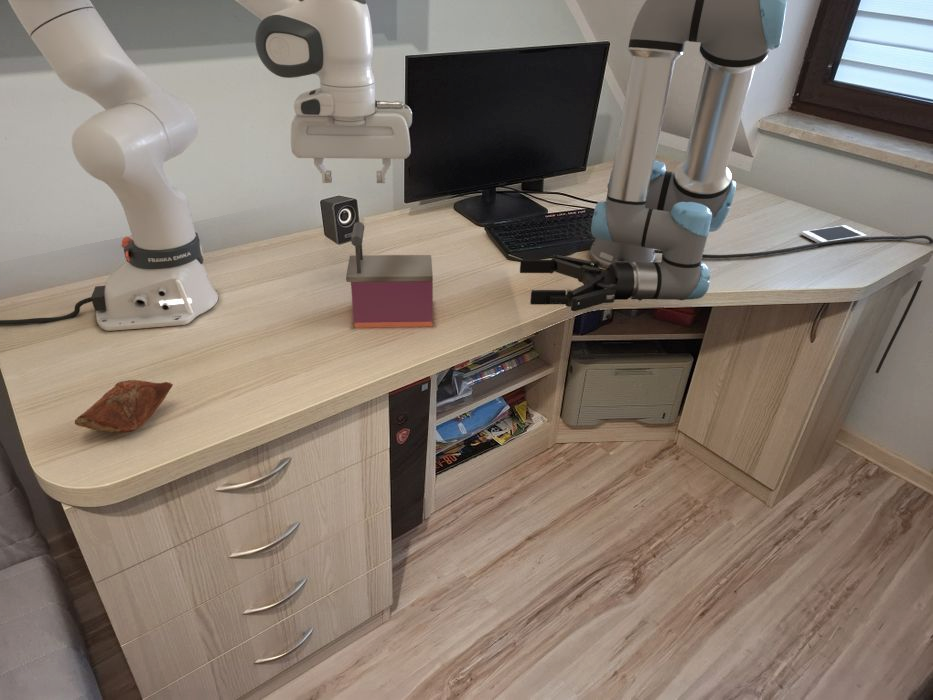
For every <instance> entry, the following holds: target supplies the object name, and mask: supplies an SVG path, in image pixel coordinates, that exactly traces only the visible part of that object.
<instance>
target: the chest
mask: <svg viewBox="0 0 933 700" xmlns="http://www.w3.org/2000/svg"><path fill="white" fill-rule="evenodd" d="M433 281H434V280H433ZM433 281H402V282H350V286H351V287H350V288H351V302H352V316H353V328H355V329H359V328H361V329H363V328H364V329H365V328H366V329H367V328H422V327H425V328H427V327H433V326H434V321H433V320H434V311H433V310H434V309H433V308H434V307H433V306H434V305H433V304H434V299H433V298H434V294H433V291H434V288H433V287H434V285H433V283H434V282H433Z"/></svg>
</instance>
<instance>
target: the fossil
mask: <svg viewBox="0 0 933 700" xmlns="http://www.w3.org/2000/svg"><path fill="white" fill-rule="evenodd" d="M173 386H174V384H173V383H172V382H168V381H164V382H152V381H146V380H139V379H129V380H122V381H119V382H117V383H116V384H115V385H114V386H113V387H112V388H111V389H109V390H108V391H106V392H105V393H104V394H103V395H102V396H101V397H100V398H99V399H98V400H97V401H96V402H94V403H93V404H92V406H90V407H88V409H86V410H85V411H83V413H81V414H80V415H79V416H77V417H76V419H75V420H74V425H76V426H77V427H81V428H86V429H88V430H89V429H90V430H92V431H93V430H95V431H99V432H110V433H116V434H117V433H120V434H125V433H131V432H133V431H136V430H138V429H140V428H141V427H142V426H144V425H145V424H146V423H147V421H148V420H149V419H150V418H151V417H152V416H153V415H154V414H155V413H156V411H157V409H159V407H160V406H161V404H162V403H163V402H164V400H165V398H166V397H167V395H168V393H169V392H170V391H171V389H172V388H173Z"/></svg>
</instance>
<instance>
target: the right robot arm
mask: <svg viewBox="0 0 933 700" xmlns="http://www.w3.org/2000/svg"><path fill="white" fill-rule="evenodd" d="M787 5H788V0H645V1H644V3H643V4H642V6H641V8H640V10H639V11H638V13H637V16H636V18H635V21H634V22H633V26H632V29H631V31H630V32H631V33H630V35H629V41H628V47H627V51H628V52H629V54H630V55H631V63H630V69H629V75H628V78H627V79H628V80H627V85H626V91H625V96H624V103H623V108H622V114H621V119H620V125H619V130H618V136H617V141H616V147H615V152H614V157H613V164H612V169H611V171H610V176H609V181H608V183H607V193H606V198H605V201H598V202H597V203H596V205H595V207H594V210H593V215H592V219H591V224H590V233H591V235H592V237H593V238H594V241H593V243H592V244H591V246H590V250H589V258H590V260H586V259H582V258H576V257H571V256H566V255H560V254H553V255H552V257H551V258H550V259H520V264H519V274H553V273H556V274H557V273H558V274H561V275H564V276H567V277H570V278H573V279H577V281H578V283H582V285H581V286H578V287H576V288H574V289H573V290H571V289H567V291H566V289H531V291H530V301H529V304H530V306H531V305H532V306H533V305H539V306H540V305H541V306H542V305H543V306H545V305H565V306H566V307H567V308H569V307H570V311H572V312H578V311H581V310H584V309H589V308H593V307H595V306H599V305H602V304H612V303H615V301H622V300H623V301H628V300H629V299H631V300H638V301H639V302H641V301H643V300H664V301H665V300H666V301H667V300H671V301H672V300H675V301H676V300H677V301H684V300H685V301H686V300H688V301H689V300H697V299H701V298H703V297H704V296H705V295H706V294H707V293H708V290H709V288H710V284H711V283H710V278H711V273H710V269H709V268H708V267H709V266H708V265H707V264H706V263H704V262H702V259H732V258H748V257H758V256H768V255H775V254H780V253H787V252H793V251H799V250H803V249H804V250H805V249H808V248H809V249H810V248H815V247H818V246H819V247H820V246H826V245H832V244H839V243H840V244H841V243H847V242H848V243H849V242H856V241H857V242H859V241H877V240H914V239H925V240H927V241H929V243H931V244H933V238H932V237H931V236H929V235H925V234H916V235H905V236H902V235H901V236H900V235H888V236H887V235H885V236H884V235H882V236H866V237H858V238H847V239H840V240H833V241H827V242H819V243H817V242H815V243H809V244H804V245H798V246H793V247H786V248H780V249H774V250H767V251H758V252H747V253H733V254H706V253H705V254H704V251H705V248H706V244H707V240H708V237H709V234H710V233H714V232H717V231H718V230H719V229H720V228H721V227H722V226H723V225H724V223H725V220H726V218H727V216H728V215H729V212H730V210H731V205H732V204H733V201H734V197H735V193H736V191H737V190H736V189H737V182H736V181H735V180H733V179H732V172H731V170H730V169H729V167H728V165H729V161H730V157H731V155H732V150H733V147H734V143H735V139H736V136H737V132H738V129H739V125H740V122H741V118H742V115H743V112H744V107H745V104H746V101H747V97H748V95H749V94H748V93H749V90H750V86H751V83H752V79H753V76H754V72H755V69H756V67H757V66H759V65H761V64H762V63H763V62H764V61H765V60H766V59H767V58H768V55H769V53H770V51H774V50H775V49H776V50H777V49H779V48H780V47H781V42H782V37H783V31H784V24H785V18H786V12H787ZM686 42H690V43H699V50H698V51H699V55H700V57H701V58H702V59H703V60H704V61H705V62H704V68H703V71H702V77H701V81H700V86H699V92H698V94H697V95H698V96H697V101H696V105H695V109H694V113H693V114H694V115H693V120H692V122H691V123H692V124H691V129H690V134H689V137H688V141H687V142H688V143H687V147H686V152H685V156H684V160H683V161H682V162H680V163H679V164H678V165H677V166H676V168H675V170H674V171H668V170H667V168H666V164H665V163H664V162H662V161H659V160H656V157H657V152H658V146H659V142H660V136H661V131H662V126H663V122H664V118H665V113H666V108H667V104H668V103H667V102H668V98H669V93H670V88H671V83H672V79H673V78H672V77H673V73H674V69H675V63H676V61H677V60H678V59H679V58H680V57H681V56H683V54H684V50H685V45H686ZM656 254H661V261H655V259H656ZM922 282H923V279H921V280H918V281H917V284H916V285H915V288H914V290H913V293H912V295H911V297H910V299H909V301H908V303H907V305H906V307H905V310H904V312H903V314H902V316H901V317H900V320H899V321H898V324H897V326H896V328H895V330H894V332H893V334H892V336H891V338H890V340H889V342H888V344H887V346H886V348H885V351H884V353H883V354H882V357H881V358H880V361H879V363H878V365H877V368H876V370H875V374H879V373H880V371H881V368H882V366H883V364H884V362H885V361H886V358H887V356H888V354H889V352H890V350H891V348H892V345H893V344H894V341H895V339H896V337H897V335H898V334H899V332H900V329H901V328H902V326H903V323H904V321H905V319H906V317H907V315H908V313H909V312H910V310H911V307H912V305H913V303H914V300H915V299H916V296H917V295H918V292H919V290H920V287H921V285H922Z"/></svg>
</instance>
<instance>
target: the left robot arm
mask: <svg viewBox="0 0 933 700" xmlns="http://www.w3.org/2000/svg"><path fill="white" fill-rule="evenodd" d="M234 1H235V2H236V3H238V4H239V5H240V6H242V7H243V8H245V9H246V10H248V11H249V12H250V13H251V14H253V15H254V16H255V17H257V18H258V19H260V20H261V21H260V23H259V24H258V26H257V29H256V31H255V38H254V40H255V41H254V43H255V49H256V52H257V55H258V57H259V60H260V61H261V63H262V64H263V66H264V67H265V68H266V69H267V70H268V71H269V72H271V73H272V74H274V75H275V76H277V77H280V78H285V79H287V78H288V79H297V78H300V77H305V76H309V75H310V76H311V75H315V76H318V78H319V86H320V87H318V88H314V89H312V90H309V91H305V92H302V93H300V94H299V95H298V96H297V97H296V98H295V100H294V103H293V110H294V113H295V115H294V117H293V119H292V121H291V124H290V125H291V126H290V149H291V153H292V154H293V156H294V157H296V158H297V159H313V164H314V166H315V167H316V169H317V170H318V172H319V173H320V174H321V179H322V183H323V184H331V183H332V182H333V176H332V170H327V169H326V167H325V165H324V164H323V163H324V160H325V159H366V160H368V159H377V160H382V165H383V166H382V168H381V170H376V173H375V174H376V184H386V174H387V172H388V170H389V168H390V166H391V163H392V162H391V161H392V160H406V159H408V157H410V155H411V154H412V153H411V151H412V150H411V149H412V148H411V136H410V128H411V126H412V124H413V112H412V109H411V108H410V106H409V105H407V104H405V103H404V102H403V101H400V100H395V101H388V100H376V98H377V97H376V80H375V79H376V78H375V76H374V73H373V72H374V71H373V57H374V38H373V28H372V26H373V25H372V20H371V14H370V10H369V6H368V4H367V1H366V0H234ZM7 2H8V3H9V5H10V7H11V9H12V10H13V12H14V15H15V17H17V19H18V20H19V22H20V24H21V25H22V27H23V28H24V30H25V31H26V33H27V35H28V36H29V38H31V40H32V42H33V43H34V44H35V46H36V48H37V49H38V50H39V52H40V53H41V55H42V56H43V58H44V59H45V60H46V62H47V63H48V64H49V66H50V67H51V68H52V70H53V72H54V73H55V74H56V76H57V77H58V78H59V80H60V81H61V82H62V83H63V84H64V85H65V86H66V87H68V89H69V88H70V89H71V90H73V91H75V92H79V93H81V94H83V95H86V96H87V97H89V98H91V99H92V100H94V101H95V103H97V104H99V105H100V107H102V108H103V111H100V112H97V113H94V114H93V115H92V116H90V117H88V119H86V120H85V121H84V122H82V123H81V124H80V125H79V126H78V127H76V128H75V130H74V131H73V133H72V137H71V148H72V152H73V155H74V157H75V159H76V161H77V163H78V165H79V166H80V167H81V168H82V169H83V170H84V171H85V172H86V173H87V174H88V175H90V176H91V177H93V178H94V179H97V180H98V181H101V182H103V183H104V184H105V185H107V186H108V187H109V188H110V189H111V191H112V192H113V193H114V194H115V196H116V198H117V199H118V201H119V203H120V205H121V207H122V209H123V212H124V215H125V219H126V221H127V224H128V227H129V231H130V234H131V237H129V236H125V237H123V238H122V240H121V247H122V248H123V253H124V257H125V260H126V261H125V262H123V264H122V265H121V266H119V267H118V268H117V269H116V270H115V271H114V272H113V273H111V274H110V275H109V277H108V278H107V280H106V282H105V285H96V286H95V287H94V289H93V291H92V293H91V296H90V297H87V298H82V299H81V300H79V301H78V302H76V304H75V305H74V310H73V311H72V312H70V313H68V314H66V315H62V316H61V315H60V316H55V317H54V316H53V317H33V318H21V319H0V326H3V325H4V326H5V325H7V326H10V325H26V324H36V323H52V322H58V321H63V320H68V319H72V318H74V317H77V315H79V314H80V311H81V307H82V306H84V305H86V304H88V303H92V306H93V309H94V311H95V317H96V322H97V324H98V326H99V327H100V328H101V329H102V330H103V331H106V332H111V331H112V332H113V331H125V330H137V329H139V330H140V329H151V328H164V327H174V326H184V325H188V324H190V323H191V322H192V321H194V319H195V318H197V317H198V316H200V315H202V314H204V313H206V312H208V311H209V310H211V309H212V308H213V307H214V306H215V305H216V304H217V303H218V300H219V295H218V292H217V291H216V290H215V288H214V286H213V284H212V282H211V280H210V278H209V274H208V272H207V270H206V267H205V264H204V258H205V257H204V256H205V255H204V251H203V246H202V241H201V239H200V237H199V234H198V232H197V231H196V230H195V229H196V228H195V225H194V224H195V223H194V219H193V216H192V211H191V207H190V201H189V199H188V196H187V194H185V193H184V192H183V191H182V190H181V189H179V188H177V187H175V186H173V185H171V183H170V182H169V180H168V178H167V176H166V173H165V171H164V163H166V162H168V161H169V160H171V159H174V158H176V157H178V156H180V155H181V154H183V153H184V152H185V151H186V150H187V149H188V148H189V147H190V146H191V145H192V143H193V142H194V141H195V140H196V138H197V136H198V131H199V126H198V125H199V124H198V119H197V117H196V115H195V113H194V111H193V109H192V108H191V107H190V106H189V104H188V103H187V102H185V100H183V99H181V98H180V97H178V96H176V95H173V94H171V93H170V92H168V91H166V90H164V89H163V88H161V86H159V85H157V84H156V83H155V82H154V81H153V80H152V79H151V78H150V77H148V76H147V74H146V73H144V71H142V70H141V69H140V68H139V67H138V65H136V64H135V63H134V62H133V61H132V59H131V58H130V57H129V56H128V54H127V53H126V52H125V50H124V49H123V48H122V46H121V45H120V44H119V42H118V41H117V39H116V37H115V35H113V33H112V31H111V30H110V28H109V27H108V26H107V25H106V22H105V21H104V20H103V17H102V16H101V15H100V14H99V12H98V11H97V9H96V7H95V6H94V5H93V2H92V1H91V0H7Z"/></svg>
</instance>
